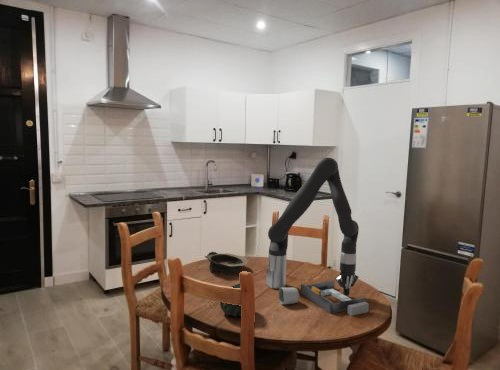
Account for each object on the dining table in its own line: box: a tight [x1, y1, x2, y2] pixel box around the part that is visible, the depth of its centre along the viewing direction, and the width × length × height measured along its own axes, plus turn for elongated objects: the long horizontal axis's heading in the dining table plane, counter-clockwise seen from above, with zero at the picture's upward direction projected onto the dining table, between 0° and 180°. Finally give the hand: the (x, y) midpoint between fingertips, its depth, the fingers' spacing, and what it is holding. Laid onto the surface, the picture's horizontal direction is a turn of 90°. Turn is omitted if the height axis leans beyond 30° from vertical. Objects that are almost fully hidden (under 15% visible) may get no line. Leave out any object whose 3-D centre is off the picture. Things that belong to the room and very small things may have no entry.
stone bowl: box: [204, 251, 248, 276], centre depth 223 cm, size 25×25×9 cm
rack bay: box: [300, 279, 367, 314], centre depth 185 cm, size 20×24×7 cm
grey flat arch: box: [321, 288, 352, 302], centre depth 185 cm, size 18×2×15 cm
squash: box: [219, 283, 241, 317], centre depth 167 cm, size 14×15×15 cm
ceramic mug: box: [278, 287, 300, 305], centre depth 182 cm, size 11×8×8 cm
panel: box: [346, 301, 370, 317], centre depth 172 cm, size 10×2×4 cm, turn 116°
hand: (346, 295), depth 189 cm, fingers closed
